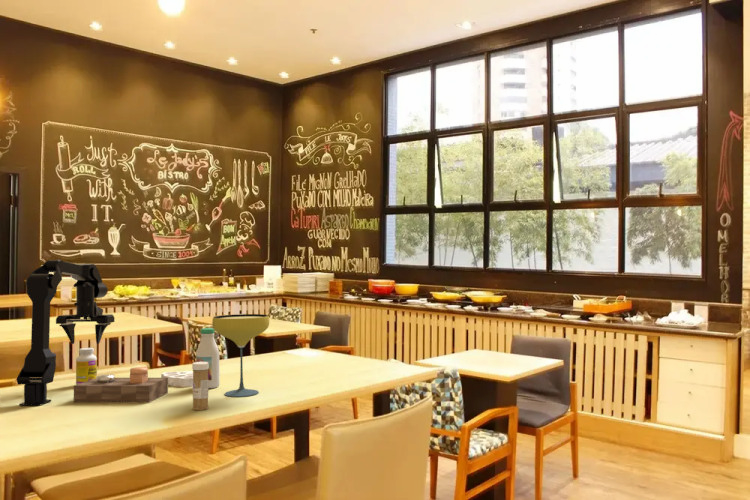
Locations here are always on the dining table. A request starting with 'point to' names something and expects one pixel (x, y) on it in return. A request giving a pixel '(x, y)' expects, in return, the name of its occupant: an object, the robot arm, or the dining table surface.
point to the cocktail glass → (240, 338)
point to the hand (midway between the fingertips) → (85, 343)
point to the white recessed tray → (179, 378)
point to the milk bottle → (209, 356)
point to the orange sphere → (138, 375)
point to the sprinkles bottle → (200, 385)
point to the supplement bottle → (86, 365)
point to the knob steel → (105, 379)
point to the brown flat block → (120, 390)
